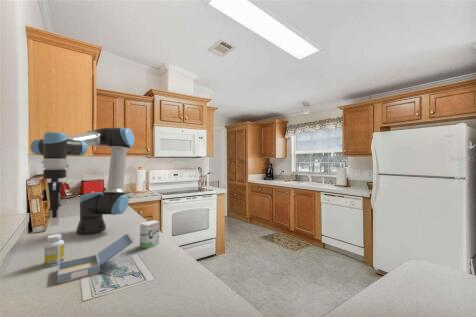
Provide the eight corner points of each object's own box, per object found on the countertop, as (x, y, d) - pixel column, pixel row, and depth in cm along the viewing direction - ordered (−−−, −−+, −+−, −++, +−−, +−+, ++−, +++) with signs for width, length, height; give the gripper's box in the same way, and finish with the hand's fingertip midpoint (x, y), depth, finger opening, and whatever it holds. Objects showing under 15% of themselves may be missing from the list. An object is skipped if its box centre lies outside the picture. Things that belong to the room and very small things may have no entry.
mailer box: (58, 270, 89) (58, 262, 89) (96, 261, 97) (96, 254, 97) (57, 284, 79) (57, 275, 79) (100, 272, 87) (100, 265, 87)
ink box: (146, 249, 110) (146, 225, 110) (139, 247, 112) (139, 223, 112) (159, 243, 118) (159, 220, 118) (152, 241, 120) (152, 219, 120)
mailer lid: (127, 230, 104) (128, 233, 104) (96, 251, 97) (98, 254, 97) (133, 238, 94) (134, 240, 95) (99, 262, 87) (101, 264, 87)
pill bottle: (63, 258, 100) (63, 232, 100) (65, 263, 95) (65, 235, 95) (43, 263, 95) (43, 235, 95) (45, 268, 91) (45, 239, 91)
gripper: (45, 168, 100) (44, 220, 100) (41, 170, 86) (41, 230, 86) (66, 168, 105) (66, 217, 105) (66, 169, 90) (65, 227, 90)
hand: (54, 223), depth 95 cm, fingers open, 5 cm apart
